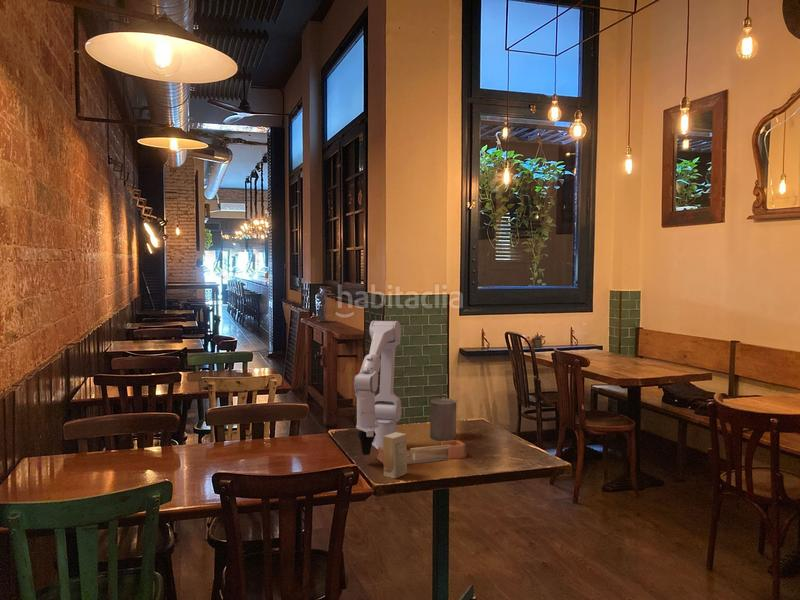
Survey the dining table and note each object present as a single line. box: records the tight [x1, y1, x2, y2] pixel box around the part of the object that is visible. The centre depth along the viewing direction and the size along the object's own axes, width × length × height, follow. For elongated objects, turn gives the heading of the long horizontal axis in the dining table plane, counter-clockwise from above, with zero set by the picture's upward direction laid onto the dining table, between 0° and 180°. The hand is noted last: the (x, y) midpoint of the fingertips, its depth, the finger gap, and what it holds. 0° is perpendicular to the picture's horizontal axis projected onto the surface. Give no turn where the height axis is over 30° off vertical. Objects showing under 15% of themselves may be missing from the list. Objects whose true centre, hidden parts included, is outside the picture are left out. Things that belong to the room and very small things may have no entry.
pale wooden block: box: [410, 444, 452, 461], centre depth 204 cm, size 4×14×4 cm, turn 110°
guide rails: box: [376, 452, 449, 465], centre depth 202 cm, size 9×21×1 cm, turn 109°
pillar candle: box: [429, 396, 457, 441], centre depth 230 cm, size 10×10×15 cm
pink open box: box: [440, 439, 467, 460], centre depth 207 cm, size 7×6×4 cm
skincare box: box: [383, 431, 408, 480], centre depth 185 cm, size 6×4×12 cm
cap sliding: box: [377, 447, 384, 465], centre depth 200 cm, size 7×6×4 cm
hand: (366, 454), depth 197 cm, fingers closed
